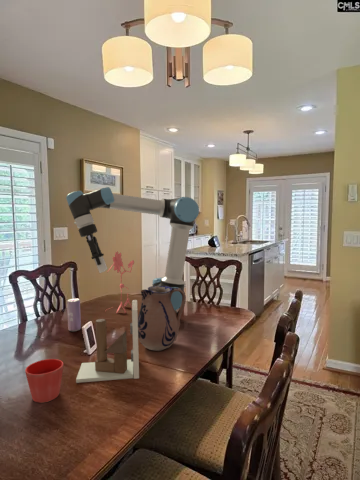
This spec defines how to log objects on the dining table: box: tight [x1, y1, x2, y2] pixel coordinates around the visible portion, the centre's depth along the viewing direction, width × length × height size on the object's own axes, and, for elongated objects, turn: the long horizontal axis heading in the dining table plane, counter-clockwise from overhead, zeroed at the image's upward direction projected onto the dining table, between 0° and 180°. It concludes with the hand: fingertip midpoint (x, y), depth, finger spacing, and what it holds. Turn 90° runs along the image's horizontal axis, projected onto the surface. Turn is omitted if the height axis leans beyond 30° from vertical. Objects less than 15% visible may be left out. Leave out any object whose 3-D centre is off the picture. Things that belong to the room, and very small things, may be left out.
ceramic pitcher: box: [138, 285, 187, 352], centre depth 136 cm, size 18×21×25 cm
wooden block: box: [94, 318, 128, 374], centre depth 113 cm, size 4×11×18 cm, turn 79°
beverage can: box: [66, 297, 82, 332], centre depth 158 cm, size 6×6×15 cm
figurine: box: [105, 251, 135, 314], centre depth 188 cm, size 15×26×35 cm, turn 164°
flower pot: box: [24, 358, 64, 404], centre depth 100 cm, size 11×11×10 cm
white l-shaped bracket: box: [75, 299, 140, 384], centre depth 114 cm, size 21×13×24 cm, turn 98°
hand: (103, 271), depth 141 cm, fingers open, 13 cm apart
